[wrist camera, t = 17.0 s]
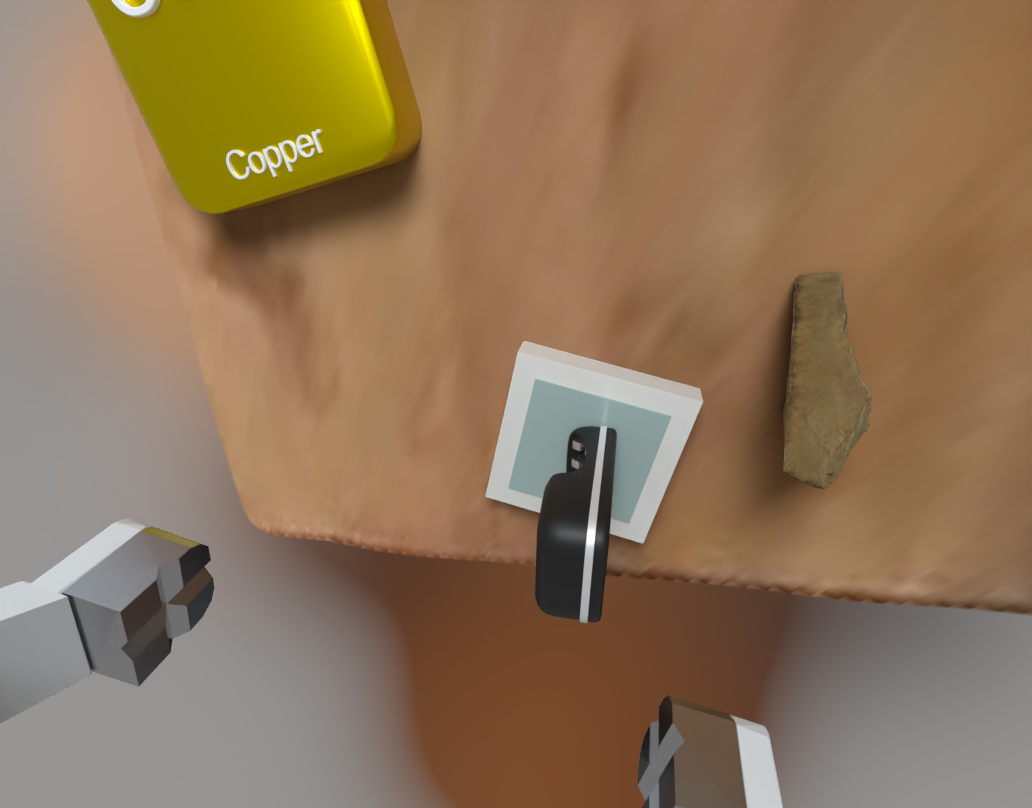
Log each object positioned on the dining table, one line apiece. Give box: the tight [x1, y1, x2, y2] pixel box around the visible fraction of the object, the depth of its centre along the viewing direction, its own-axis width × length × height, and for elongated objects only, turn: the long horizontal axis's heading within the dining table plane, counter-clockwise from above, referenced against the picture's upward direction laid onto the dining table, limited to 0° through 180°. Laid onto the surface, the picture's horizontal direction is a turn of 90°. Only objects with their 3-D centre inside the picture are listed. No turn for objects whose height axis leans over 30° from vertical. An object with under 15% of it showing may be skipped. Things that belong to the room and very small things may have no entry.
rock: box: [783, 273, 871, 489], centre depth 31 cm, size 11×9×10 cm
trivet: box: [485, 341, 703, 543], centre depth 38 cm, size 12×12×2 cm
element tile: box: [87, 0, 421, 214], centre depth 30 cm, size 15×15×5 cm
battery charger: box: [535, 426, 617, 623], centre depth 33 cm, size 7×4×11 cm, turn 179°
